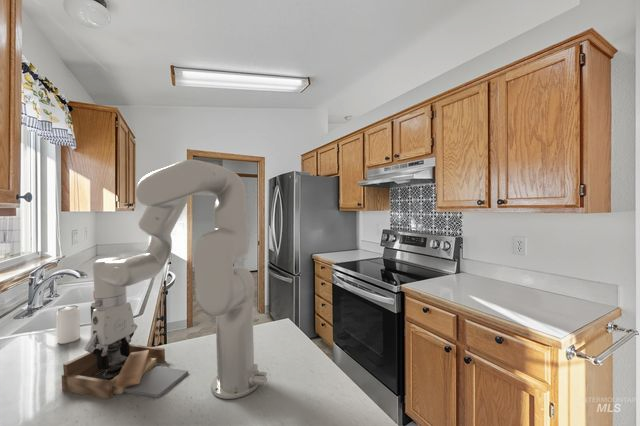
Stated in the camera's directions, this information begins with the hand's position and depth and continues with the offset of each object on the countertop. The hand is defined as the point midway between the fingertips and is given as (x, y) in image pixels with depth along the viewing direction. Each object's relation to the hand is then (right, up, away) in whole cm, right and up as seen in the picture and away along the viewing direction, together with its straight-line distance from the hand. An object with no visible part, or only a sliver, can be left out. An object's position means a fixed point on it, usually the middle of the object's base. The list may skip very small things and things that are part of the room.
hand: (114, 361), depth 85 cm
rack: (+1, -4, 0) cm, 4 cm away
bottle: (-15, -4, +17) cm, 23 cm away
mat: (+15, -3, -4) cm, 16 cm away
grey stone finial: (0, -3, 0) cm, 3 cm away
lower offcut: (+6, -4, -2) cm, 8 cm away
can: (-33, -4, +23) cm, 40 cm away
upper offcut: (+7, -2, -2) cm, 8 cm away
